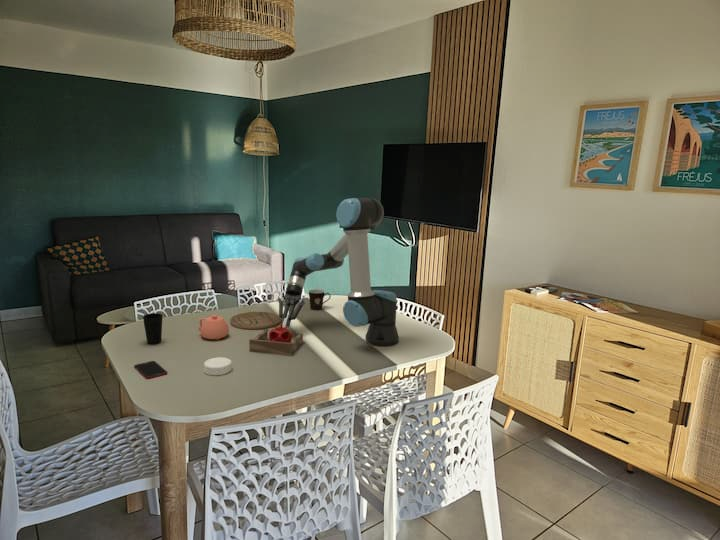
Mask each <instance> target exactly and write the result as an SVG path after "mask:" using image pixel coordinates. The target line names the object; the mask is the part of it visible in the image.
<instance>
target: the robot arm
mask: <svg viewBox="0 0 720 540" xmlns="http://www.w3.org/2000/svg"><path fill="white" fill-rule="evenodd" d="M335 213H336V220H337V223H338V225H339V226H340V227H342V230H343V231H342V232H343V233H344V235H343V236H342V237H341V238H340V239H339V240H338V241H337V243H335V244H334V246H333V247H332V249H330V250H329V251H328V253H323V254H321V253H317V252H316V253H312V254H310V255H309V256H306V257H305V258H304V257H297V258H295V260H294V261H293V263H292V267H291V272H290V275H289V279H288V282H287V286H286V288H285V289H286V290H285V294H284V295H283V297H278V299H277V300H278V315H279V317H280V318H281V323H280V324H283V325H282V327H283V326H284V325H285V326H284V327H287V328H285V329H287V330H288V327H290V325H291V322H292V321H293V320H295V321H296V319H297V317H298V315H299V314H300V311H301V309H302V308H303V307H304V305H305V304H306V302H305V300H304V299H302V295H303V289H304V286H305V282H306V279H307V276H308V275H311V274H313V273H314V272H320V271H321V272H322V271H325V270H333V269H338V268H341V267H342V266H343V265H344V262H345V258H346V257H347V256H348V266H349V269H348V270H349V280H350V284H349V285H350V291H349V293H348V294H347V301H346V302H344V304H343V308H342V312H343V313H342V314H343V316H344V318H345V320H346V321H347V323H348V324H349V325H351V326H353V327H355V328H357V327H364V326H367V325H369V326H368V328H367V330H366V331H367V332H366V333H365V342H366V343H368V344H370V345H373V346H378V347H390V346H391V347H392V346H395V345H397V344H398V343H399V341H400V340H399V339H400V338H399V333H398V329H397V326H396V323H397V321H396V320H397V307H398V306H397V304H398V301H397V299H398V298H397V294H396V293H395V292H392V291H388V290H380V289H373V290H372V288H371V286H372V285H371V271H370V269H371V268H370V257H369V256H370V255H369V241H368V239H369V238H368V237H369V235H368V234H369V233H370V232H371V231H374V230H375V229H377V227H378V226H379V225H380V224H381V222H382V221H383V218H384V217H385V216H384V215H385V213H384V206H383V205H382V203H381V202H380V201H379V200H378V199H375V198H373V197H366V198H365V197H352V198H345V199H343V200H342V201H341V202H340V204H339V205H338V206H337V209H336V212H335ZM284 302H285V306H284V304H283V303H284ZM284 327H283V328H284Z"/></svg>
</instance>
